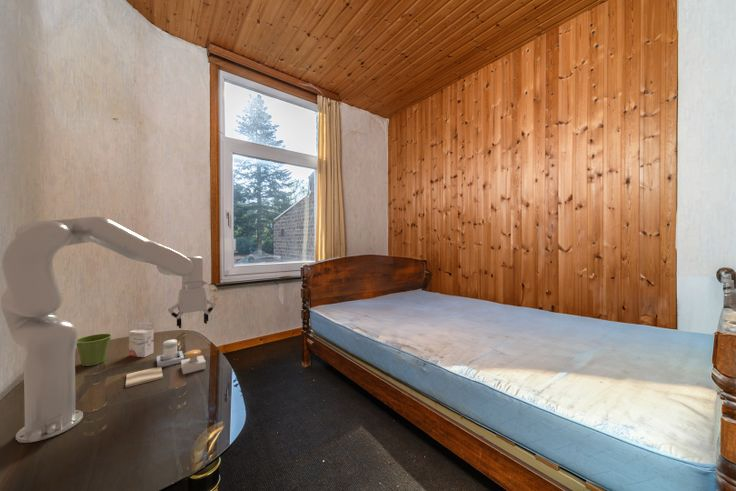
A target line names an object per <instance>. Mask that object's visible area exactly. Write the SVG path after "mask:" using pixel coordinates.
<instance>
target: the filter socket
mask: <svg viewBox="0 0 736 491" xmlns="http://www.w3.org/2000/svg"><path fill="white" fill-rule="evenodd" d="M178 356H179V357H178ZM184 359H185V355H184V353H183V351H182V350H179V351H178V350H177V358H175V359H171V360H166V361H163V354H160V355H156V365H157V367H159V366H161V367H162V368H164V367H167V366H172V365H177V364H181V360H184Z"/></svg>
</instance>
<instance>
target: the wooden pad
mask: <svg viewBox="0 0 736 491" xmlns="http://www.w3.org/2000/svg"><path fill="white" fill-rule="evenodd" d="M162 368H163V367H161V366H159V367H156V366H155V367H152V368H148V369H143V370H138V371H134V372H131V373H127V374H126V378H125V387H124V388H129V387H130V388H131V387H134V386H138V385H141V384H142V385H143V384H145V383H149V382H153V381H157V380H161V379H164V376H163V375H164V374H163V370H162Z"/></svg>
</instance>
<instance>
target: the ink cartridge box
mask: <svg viewBox="0 0 736 491" xmlns="http://www.w3.org/2000/svg"><path fill="white" fill-rule="evenodd" d="M153 324H154V323H153V322H152V323H151V322H138V323H137V328H136V329H133V330H130V331H128V356H129V357H138V358H139V357H140V358H146V357H147V356H150V355H152V354H154V345H155V344H154V341H155V340H154V338H155V337H154V325H153Z"/></svg>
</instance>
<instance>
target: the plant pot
mask: <svg viewBox="0 0 736 491" xmlns="http://www.w3.org/2000/svg"><path fill="white" fill-rule="evenodd" d="M112 337H113V334H112V333H97V334H92V335H86V336H82V337H78V340H77V345H76V349H77V350H78V354H79V358H80V363H81V365H82V366H83V367H85V366H86V367H92V366H96V364H97V365H99V364H101V363H104V362H105V361H106V357H107V354H108V348H109V344H110V341H111V338H112Z"/></svg>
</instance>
